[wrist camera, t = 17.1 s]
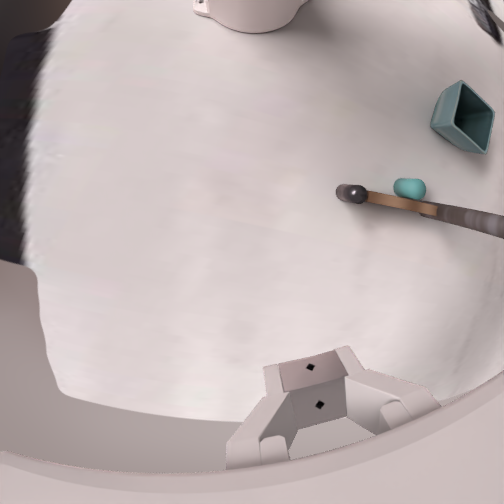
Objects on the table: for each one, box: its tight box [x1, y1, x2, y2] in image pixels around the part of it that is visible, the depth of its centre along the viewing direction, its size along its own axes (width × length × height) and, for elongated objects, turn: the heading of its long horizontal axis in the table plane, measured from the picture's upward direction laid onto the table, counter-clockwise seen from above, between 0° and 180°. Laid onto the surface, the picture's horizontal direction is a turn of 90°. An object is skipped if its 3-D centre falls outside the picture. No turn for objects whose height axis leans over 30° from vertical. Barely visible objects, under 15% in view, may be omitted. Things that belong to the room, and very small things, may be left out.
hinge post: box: [336, 184, 367, 204], centre depth 39 cm, size 2×2×6 cm
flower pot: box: [430, 80, 495, 155], centre depth 36 cm, size 9×9×9 cm
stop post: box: [394, 178, 426, 200], centre depth 40 cm, size 3×3×5 cm
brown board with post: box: [365, 191, 504, 239], centre depth 31 cm, size 15×3×24 cm, turn 83°
